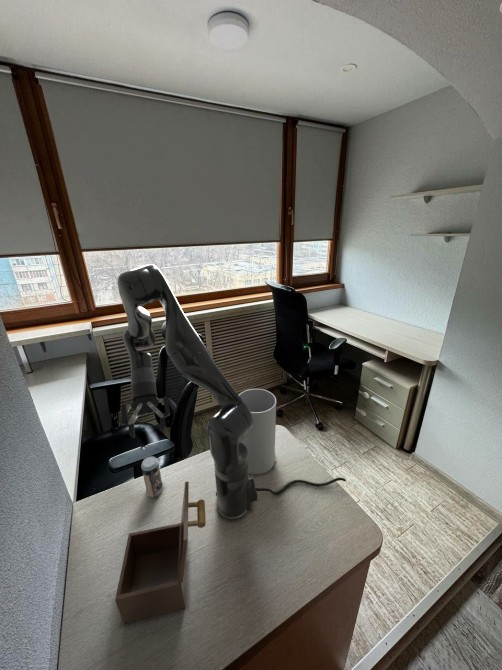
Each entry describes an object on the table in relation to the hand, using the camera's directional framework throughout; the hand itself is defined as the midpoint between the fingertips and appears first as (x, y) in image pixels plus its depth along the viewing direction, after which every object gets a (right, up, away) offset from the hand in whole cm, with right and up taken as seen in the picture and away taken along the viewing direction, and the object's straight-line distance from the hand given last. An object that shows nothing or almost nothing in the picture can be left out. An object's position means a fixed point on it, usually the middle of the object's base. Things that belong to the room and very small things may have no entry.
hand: (148, 434), depth 83 cm
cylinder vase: (+34, -13, +10) cm, 37 cm away
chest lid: (+17, -10, -26) cm, 33 cm away
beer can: (+3, -17, -1) cm, 17 cm away
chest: (+11, -26, -22) cm, 35 cm away
